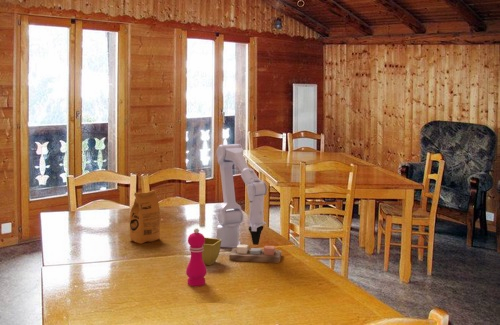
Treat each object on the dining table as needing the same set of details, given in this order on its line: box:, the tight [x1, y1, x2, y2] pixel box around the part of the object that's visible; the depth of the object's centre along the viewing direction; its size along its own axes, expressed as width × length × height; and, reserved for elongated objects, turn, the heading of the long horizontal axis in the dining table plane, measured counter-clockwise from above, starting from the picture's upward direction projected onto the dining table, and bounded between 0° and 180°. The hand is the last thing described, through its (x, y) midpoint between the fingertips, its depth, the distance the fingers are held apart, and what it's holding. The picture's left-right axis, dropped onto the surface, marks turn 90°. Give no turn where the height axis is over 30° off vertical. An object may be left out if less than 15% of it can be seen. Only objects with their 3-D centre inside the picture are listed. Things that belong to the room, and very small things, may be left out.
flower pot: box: [202, 237, 221, 266], centre depth 237 cm, size 9×9×9 cm
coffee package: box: [129, 189, 161, 244], centre depth 268 cm, size 10×12×22 cm
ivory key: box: [237, 244, 249, 254], centre depth 245 cm, size 4×4×3 cm
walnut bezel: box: [228, 248, 282, 264], centre depth 245 cm, size 20×10×2 cm, turn 83°
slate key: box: [250, 247, 262, 255], centre depth 245 cm, size 4×4×3 cm
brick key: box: [263, 245, 276, 255], centre depth 244 cm, size 4×4×3 cm
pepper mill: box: [185, 228, 208, 287], centre depth 212 cm, size 7×7×20 cm
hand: (255, 244), depth 244 cm, fingers closed
